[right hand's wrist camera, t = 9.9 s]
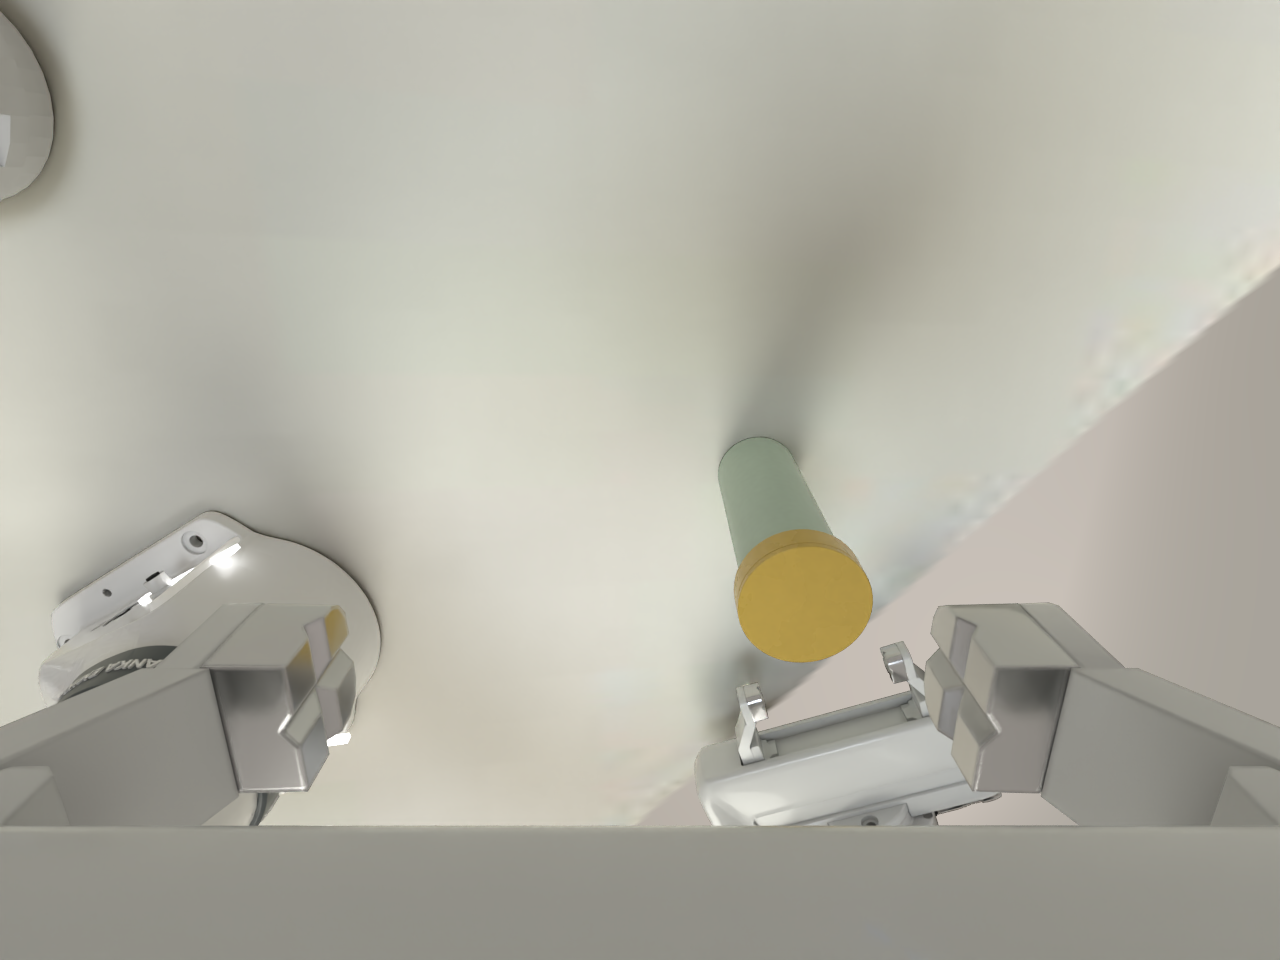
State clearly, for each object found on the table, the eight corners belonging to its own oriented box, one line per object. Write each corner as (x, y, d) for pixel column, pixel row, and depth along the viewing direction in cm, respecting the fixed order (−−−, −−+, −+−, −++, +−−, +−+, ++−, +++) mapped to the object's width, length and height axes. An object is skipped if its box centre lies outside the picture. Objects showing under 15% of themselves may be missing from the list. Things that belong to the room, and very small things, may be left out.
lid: (787, 504, 32) (795, 521, 30) (889, 572, 33) (901, 592, 32) (708, 599, 34) (710, 620, 32) (807, 661, 35) (814, 683, 33)
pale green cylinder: (749, 421, 46) (794, 530, 31) (811, 464, 46) (883, 589, 32) (702, 482, 47) (724, 613, 33) (763, 522, 48) (811, 666, 34)
